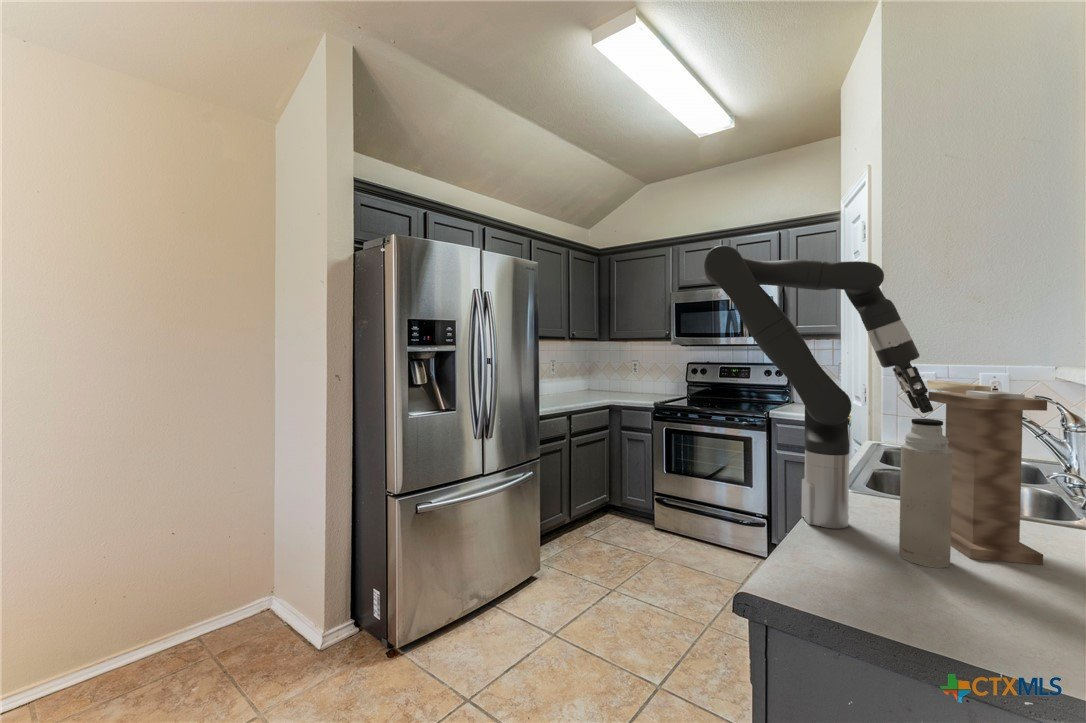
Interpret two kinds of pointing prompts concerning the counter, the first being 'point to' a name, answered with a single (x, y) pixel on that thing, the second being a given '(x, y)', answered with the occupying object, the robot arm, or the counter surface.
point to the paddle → (972, 390)
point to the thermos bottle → (926, 495)
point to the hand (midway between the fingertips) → (923, 409)
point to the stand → (987, 475)
